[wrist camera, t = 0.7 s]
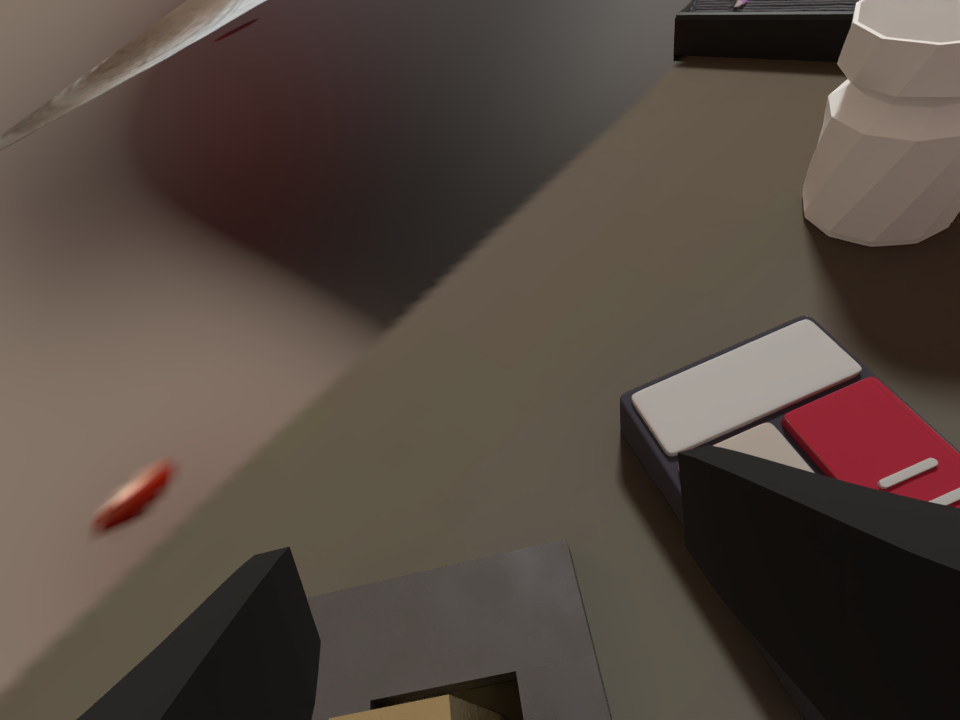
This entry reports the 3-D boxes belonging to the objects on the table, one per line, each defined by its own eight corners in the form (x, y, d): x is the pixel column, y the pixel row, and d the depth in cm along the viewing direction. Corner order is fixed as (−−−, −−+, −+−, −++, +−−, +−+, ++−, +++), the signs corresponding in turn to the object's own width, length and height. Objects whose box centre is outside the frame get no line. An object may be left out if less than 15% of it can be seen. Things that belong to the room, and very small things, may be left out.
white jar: (899, 155, 36) (984, -47, 27) (991, 226, 31) (1137, 1, 22) (774, 189, 38) (817, 5, 28) (842, 263, 32) (921, 63, 23)
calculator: (843, 736, 16) (615, 387, 26) (806, 734, 20) (617, 426, 29) (1146, 597, 17) (812, 301, 26) (1058, 619, 20) (790, 351, 29)
